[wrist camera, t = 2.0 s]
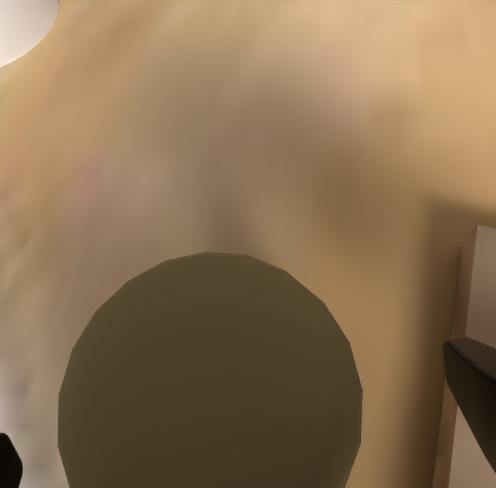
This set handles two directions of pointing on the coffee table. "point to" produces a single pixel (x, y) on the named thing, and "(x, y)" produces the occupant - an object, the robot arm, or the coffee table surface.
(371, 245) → the coffee table surface
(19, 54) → the upright rounded white block
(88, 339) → the olive bulb shape
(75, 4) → the coffee table surface
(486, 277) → the notched board
